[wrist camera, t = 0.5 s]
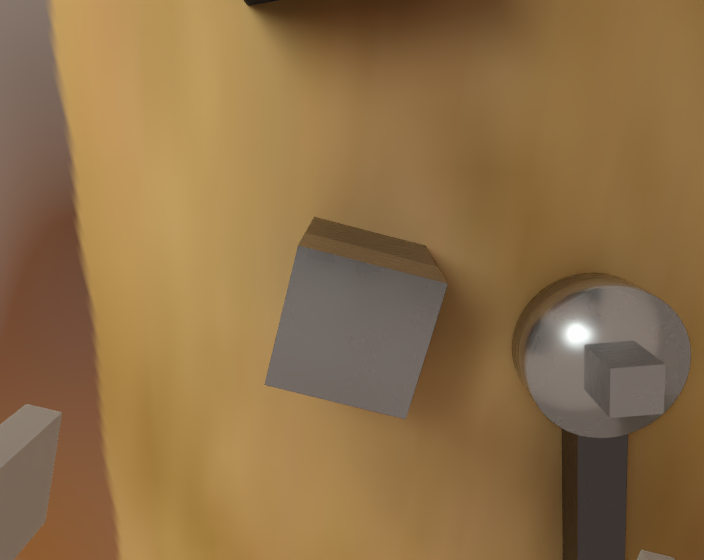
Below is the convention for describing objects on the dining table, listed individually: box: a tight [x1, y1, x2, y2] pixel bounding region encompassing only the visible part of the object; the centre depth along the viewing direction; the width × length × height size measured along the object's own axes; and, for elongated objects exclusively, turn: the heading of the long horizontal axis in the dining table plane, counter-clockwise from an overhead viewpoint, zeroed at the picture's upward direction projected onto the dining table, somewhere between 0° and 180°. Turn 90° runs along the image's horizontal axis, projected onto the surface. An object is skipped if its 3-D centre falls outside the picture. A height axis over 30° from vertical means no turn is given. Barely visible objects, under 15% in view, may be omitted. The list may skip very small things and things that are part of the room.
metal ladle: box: [512, 273, 691, 560], centre depth 30 cm, size 20×8×6 cm, turn 5°
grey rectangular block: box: [265, 217, 448, 419], centre depth 27 cm, size 6×6×8 cm
